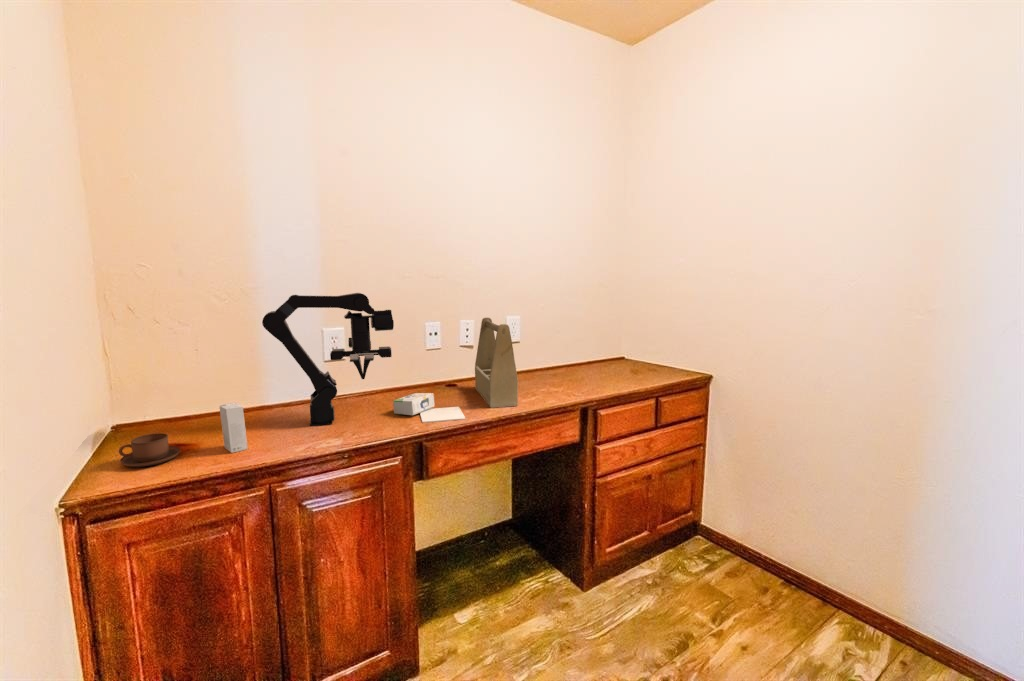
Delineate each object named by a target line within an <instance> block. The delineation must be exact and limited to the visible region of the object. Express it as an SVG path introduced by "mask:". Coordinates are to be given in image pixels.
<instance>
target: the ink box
mask: <svg viewBox="0 0 1024 681" xmlns="http://www.w3.org/2000/svg"><path fill="white" fill-rule="evenodd" d="M392 402H393V403H392V404H393V414H394V415H402V416H403V415H404V416H406V415H407V416H415V415H417V414H420V412H422V411H425V410H427V409H433V408H434V407H435V405H436V404H435V395H434V393H433V392H432V393H431V392H427V393H426V392H425V393H424V392H421V393H419V392H415V393H411V394H409V395H405V396H403V397H400V398H397V399H394V400H392Z"/></svg>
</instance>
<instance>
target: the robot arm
mask: <svg viewBox="0 0 1024 681" xmlns="http://www.w3.org/2000/svg"><path fill="white" fill-rule="evenodd" d="M298 308H301V309H302V308H306V309H307V308H312V309H313V308H314V309H318V308H320V309H323V308H325V309H329V308H332V309H333V308H335V309H336V308H337V309H343V310H348V311H347V313H346V314H344V316H343V319H345V320H347V319H348V320H349V319H350V331H351V332H350V334H351V337H348V348H351V349H352V350H345V348H333V349H332V350H331V351H330V354H329V356H330V361H341V360H342V359H344V358H345V357H349V358H350V359H349V362H350V363H353V364H354V367H356V369H357V372H358V374H359V376H360V378H361V380H365V379H366V374H367V371H368V368H369V365H370V362H373V361H374V358H375V356H379V357H380V358H392V347H391V346H379V347H378V348H377V349H372V341H371V332H370V331H371V329H370V328H372V329H374V331H375V332H380V331H381V332H383V331H393V330H394V326H395V324H394V318H393V314H392V309H384V310H383V309H382V310H375V309H374V308H373V307H372V305H370V300H369V298H368V296H367V295H366V294H364V293H361V292H354V293H348V294H341V295H299V294H292V295H290V296H289V297H288V299H287V300H286V301H285V302H283V304H281V305H280V306H278V308H276V310H273V311H268V312H267V313H266V314H265V315H264V317H263V318H262V326H263V328H264V330H266V331H267V332H268V333H269V334H271V335H272V336H273V337H274V338H275V339H277V340H278V341H279V342H280V343H281V344H282V345H283V347H285V349H286V350H287V351H288V353H289V354H290V355H291V356H292V357H293V358H294V361H295V362H296V363H297V364H298V365H299V367H300V368H301V369H302V371H303V372H304V373H305V375H306V376H307V377H308V378H309V380H310V382H311V384H312V386H313V388H314V391H313V392H312V394H310V405H309V412H310V414H309V415H310V423H309V426H310V427H313V426H324V425H327V426H328V425H332V424H333V422H334V421H335V418H336V417H335V406H333V402H332V400H333V399H335V398H336V396H337V395H338V389H337V382H336V381H337V380H335V379H334V378H333V377H332V375H331V373H330V372H329V371H326V372H325V373H324V372H323V371H322V370H321V369H320V368H318V366H317V365H316V363H315V362H314V361H313V359H312V358H311V356H310V355H309V354H308V353H307V352H306V350H305V349H304V348H303V346H302V345H301V343H299V341H298V340H297V338H296V337H295V336H294V334H293V333H292V330H291V329H290V327H289V324H288V323H287V319H288V318H289V317H290V316H291V315H292V314H293V313H294V312H296V311H297V310H298ZM351 311H354V312H351ZM362 312H364V313H366V314H367V315H363V313H362ZM360 356H361V357H364V359H363V366H362V361H361V357H360Z"/></svg>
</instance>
